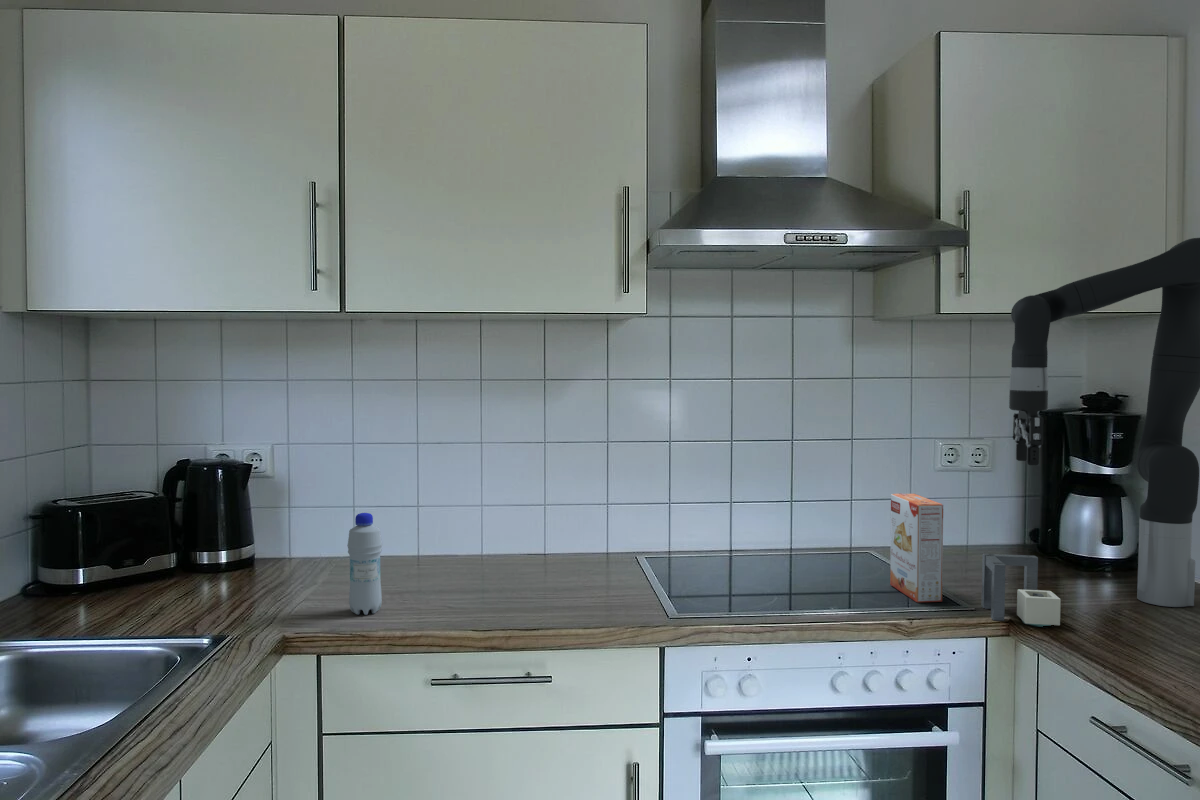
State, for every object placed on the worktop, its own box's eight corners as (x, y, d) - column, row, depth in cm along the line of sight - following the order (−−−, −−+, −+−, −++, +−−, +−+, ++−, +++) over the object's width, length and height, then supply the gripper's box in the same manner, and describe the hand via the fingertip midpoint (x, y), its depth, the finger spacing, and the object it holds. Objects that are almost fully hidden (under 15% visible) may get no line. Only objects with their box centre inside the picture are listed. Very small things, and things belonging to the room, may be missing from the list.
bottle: (348, 618, 171) (347, 516, 170) (348, 608, 177) (346, 510, 176) (383, 615, 173) (382, 514, 172) (382, 606, 179) (381, 509, 178)
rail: (1033, 608, 177) (1035, 555, 177) (1048, 623, 168) (1050, 567, 167) (981, 606, 179) (982, 553, 179) (993, 620, 170) (994, 564, 169)
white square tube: (1049, 616, 170) (1050, 590, 170) (1059, 625, 164) (1060, 599, 164) (1016, 614, 171) (1017, 589, 171) (1025, 623, 165) (1026, 597, 165)
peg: (1048, 619, 170) (1049, 591, 170) (1057, 627, 165) (1058, 599, 164) (1018, 617, 171) (1019, 590, 171) (1026, 626, 166) (1027, 597, 166)
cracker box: (888, 586, 195) (889, 493, 194) (914, 585, 196) (915, 492, 195) (915, 603, 181) (916, 503, 180) (943, 602, 182) (945, 503, 181)
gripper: (1057, 389, 182) (1055, 467, 183) (1037, 387, 196) (1035, 459, 197) (1019, 389, 183) (1017, 466, 184) (1001, 387, 197) (1000, 458, 198)
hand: (1026, 462), depth 190 cm, fingers open, 8 cm apart
